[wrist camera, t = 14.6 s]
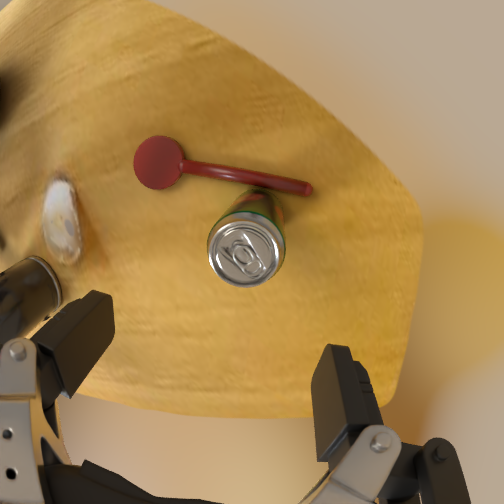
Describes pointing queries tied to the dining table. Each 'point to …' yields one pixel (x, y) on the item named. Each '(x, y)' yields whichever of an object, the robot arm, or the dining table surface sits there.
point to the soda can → (248, 240)
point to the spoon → (200, 169)
